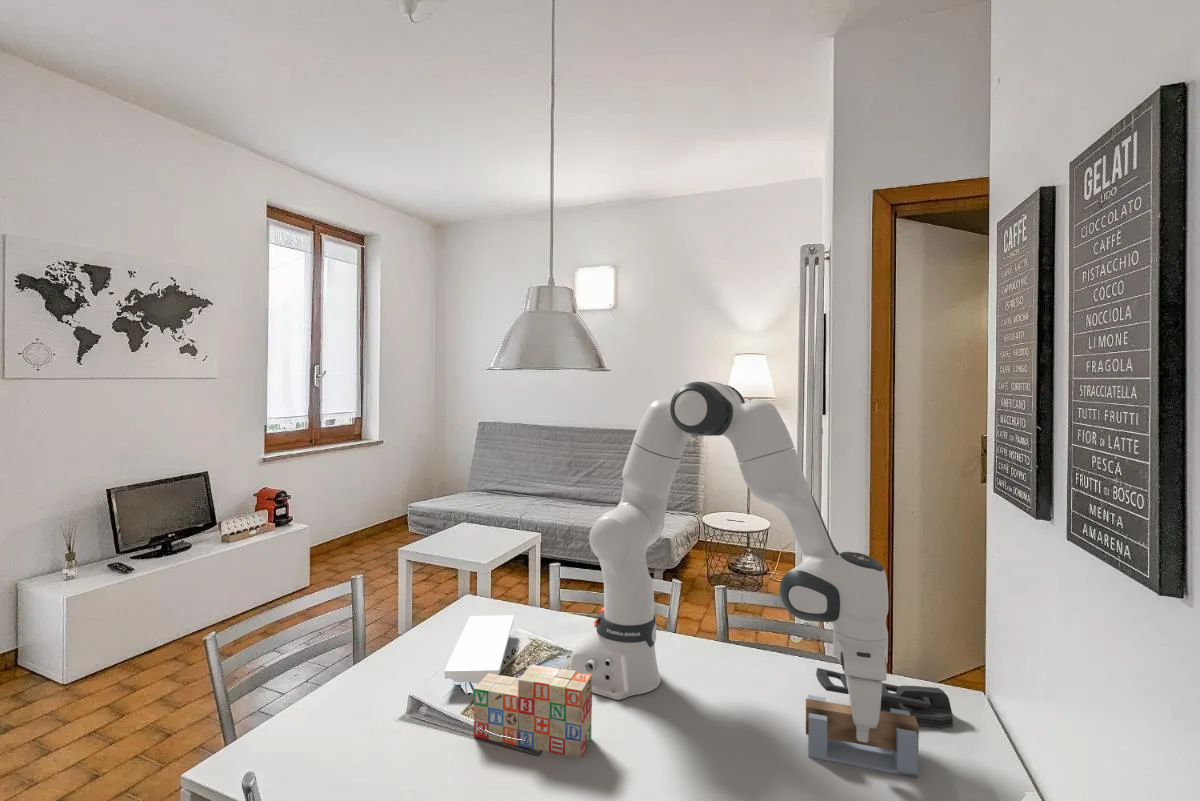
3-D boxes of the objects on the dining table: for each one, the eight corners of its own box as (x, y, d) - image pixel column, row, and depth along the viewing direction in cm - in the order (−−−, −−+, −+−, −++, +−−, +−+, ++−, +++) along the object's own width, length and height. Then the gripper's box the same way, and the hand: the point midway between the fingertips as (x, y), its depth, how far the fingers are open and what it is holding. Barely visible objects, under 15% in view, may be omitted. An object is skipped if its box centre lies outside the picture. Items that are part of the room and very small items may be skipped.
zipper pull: (812, 665, 122) (939, 673, 118) (812, 696, 122) (938, 705, 118) (823, 686, 113) (960, 696, 109) (823, 720, 113) (960, 730, 110)
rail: (805, 734, 104) (806, 706, 104) (805, 725, 107) (805, 698, 107) (918, 755, 98) (918, 725, 98) (914, 744, 101) (915, 716, 101)
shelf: (444, 695, 122) (444, 671, 122) (470, 635, 152) (470, 616, 152) (498, 694, 122) (498, 670, 122) (513, 635, 152) (513, 615, 152)
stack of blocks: (472, 737, 107) (472, 671, 107) (488, 719, 113) (488, 657, 113) (581, 759, 101) (581, 689, 100) (592, 738, 107) (592, 672, 106)
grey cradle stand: (808, 757, 101) (809, 717, 101) (807, 731, 109) (808, 694, 109) (917, 778, 96) (917, 736, 96) (908, 749, 103) (909, 711, 103)
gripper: (836, 622, 113) (836, 692, 113) (845, 670, 94) (844, 754, 94) (872, 626, 111) (871, 698, 111) (888, 676, 91) (887, 762, 92)
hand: (859, 724), depth 102 cm, fingers open, 8 cm apart
